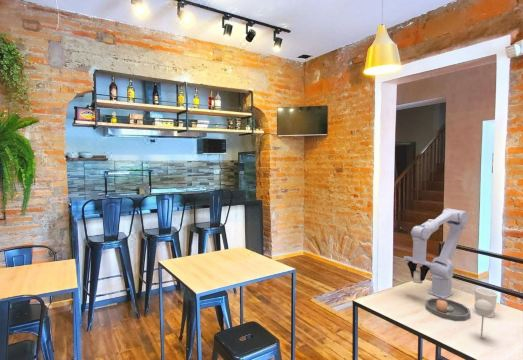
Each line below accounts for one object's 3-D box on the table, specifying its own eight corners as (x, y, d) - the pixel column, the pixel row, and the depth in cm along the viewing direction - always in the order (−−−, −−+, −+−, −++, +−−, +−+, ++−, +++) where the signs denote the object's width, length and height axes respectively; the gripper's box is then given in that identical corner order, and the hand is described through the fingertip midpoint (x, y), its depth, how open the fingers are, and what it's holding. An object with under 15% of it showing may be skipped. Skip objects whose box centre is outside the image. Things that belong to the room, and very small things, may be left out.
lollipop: (491, 344, 117) (494, 305, 116) (472, 339, 120) (475, 301, 119) (490, 336, 122) (492, 299, 121) (471, 331, 125) (474, 295, 124)
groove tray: (437, 299, 154) (438, 295, 154) (476, 313, 140) (477, 309, 140) (418, 307, 145) (418, 303, 144) (458, 324, 130) (458, 320, 130)
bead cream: (416, 279, 155) (416, 269, 155) (424, 282, 152) (424, 272, 151) (411, 281, 153) (411, 271, 153) (419, 284, 150) (419, 273, 149)
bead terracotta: (439, 309, 142) (439, 298, 142) (448, 313, 139) (449, 302, 138) (434, 311, 140) (435, 301, 139) (443, 315, 137) (444, 304, 136)
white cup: (496, 313, 141) (498, 291, 140) (494, 320, 135) (495, 297, 134) (475, 307, 146) (477, 286, 145) (472, 313, 140) (473, 291, 139)
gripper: (400, 248, 155) (399, 275, 156) (429, 256, 143) (428, 285, 144) (408, 246, 159) (407, 272, 160) (438, 254, 147) (436, 282, 148)
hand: (417, 278), depth 152 cm, fingers closed on bead cream, 4 cm apart
